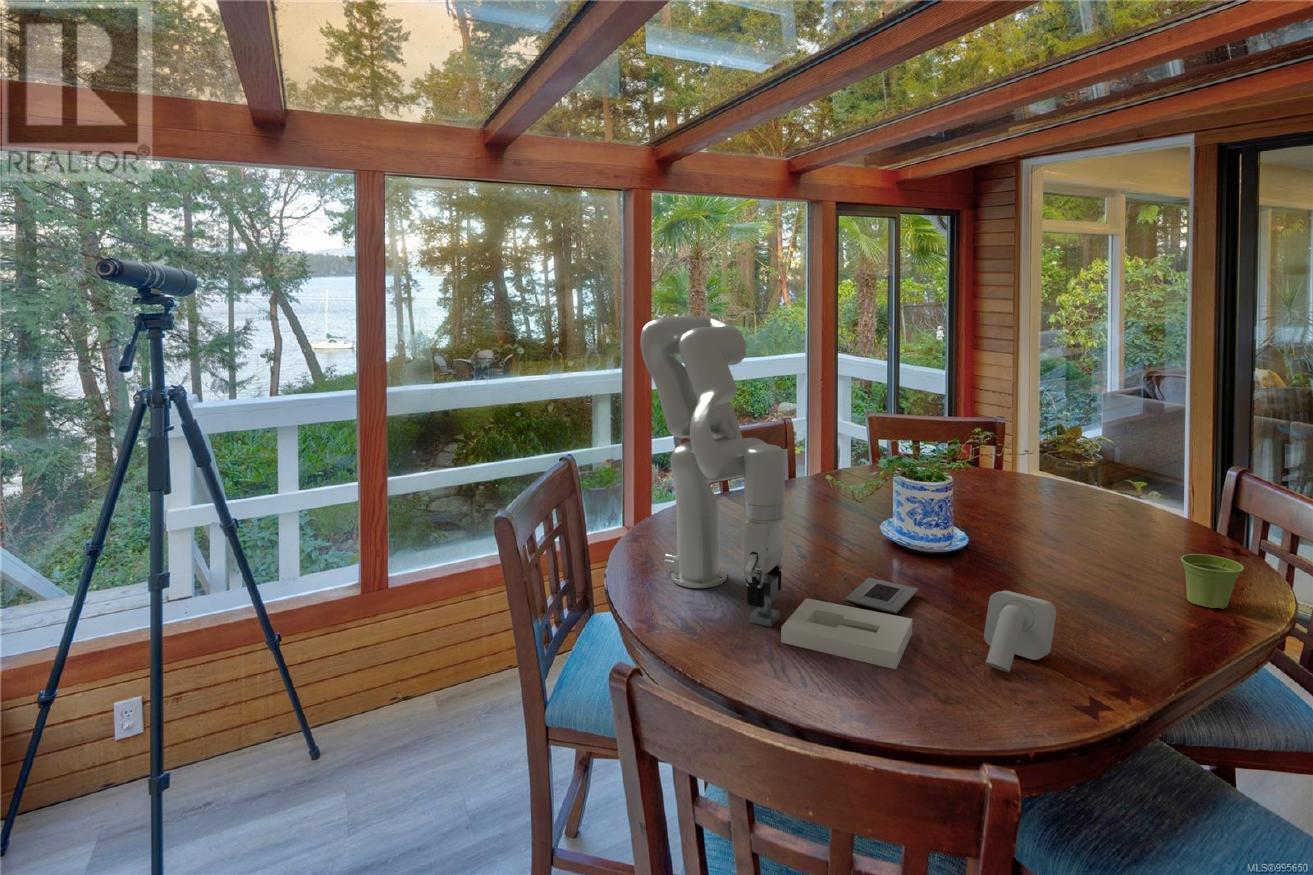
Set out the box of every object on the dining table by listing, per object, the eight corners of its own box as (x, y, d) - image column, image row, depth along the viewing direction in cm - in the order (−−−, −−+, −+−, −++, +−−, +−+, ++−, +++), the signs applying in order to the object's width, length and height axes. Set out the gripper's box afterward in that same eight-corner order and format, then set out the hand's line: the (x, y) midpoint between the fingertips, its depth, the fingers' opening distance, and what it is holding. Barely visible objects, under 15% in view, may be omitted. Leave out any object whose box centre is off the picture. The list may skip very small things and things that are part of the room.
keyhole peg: (749, 622, 128) (749, 580, 127) (758, 613, 132) (758, 572, 130) (771, 627, 126) (771, 584, 125) (779, 618, 130) (779, 576, 128)
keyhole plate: (781, 642, 120) (781, 627, 120) (806, 612, 132) (806, 598, 131) (896, 669, 110) (896, 652, 109) (911, 634, 122) (912, 618, 121)
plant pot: (1232, 619, 124) (1238, 575, 122) (1170, 603, 131) (1175, 562, 129) (1243, 604, 129) (1248, 562, 128) (1183, 590, 137) (1187, 550, 135)
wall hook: (963, 662, 110) (973, 593, 110) (988, 652, 119) (998, 588, 118) (1025, 684, 103) (1036, 610, 103) (1047, 671, 112) (1057, 603, 112)
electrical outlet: (868, 586, 144) (869, 576, 144) (918, 598, 138) (918, 587, 137) (844, 608, 134) (844, 597, 134) (896, 621, 128) (896, 610, 127)
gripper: (763, 497, 134) (763, 578, 137) (726, 520, 120) (728, 610, 123) (798, 501, 130) (798, 584, 134) (766, 525, 116) (766, 619, 119)
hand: (764, 596), depth 128 cm, fingers open, 8 cm apart
